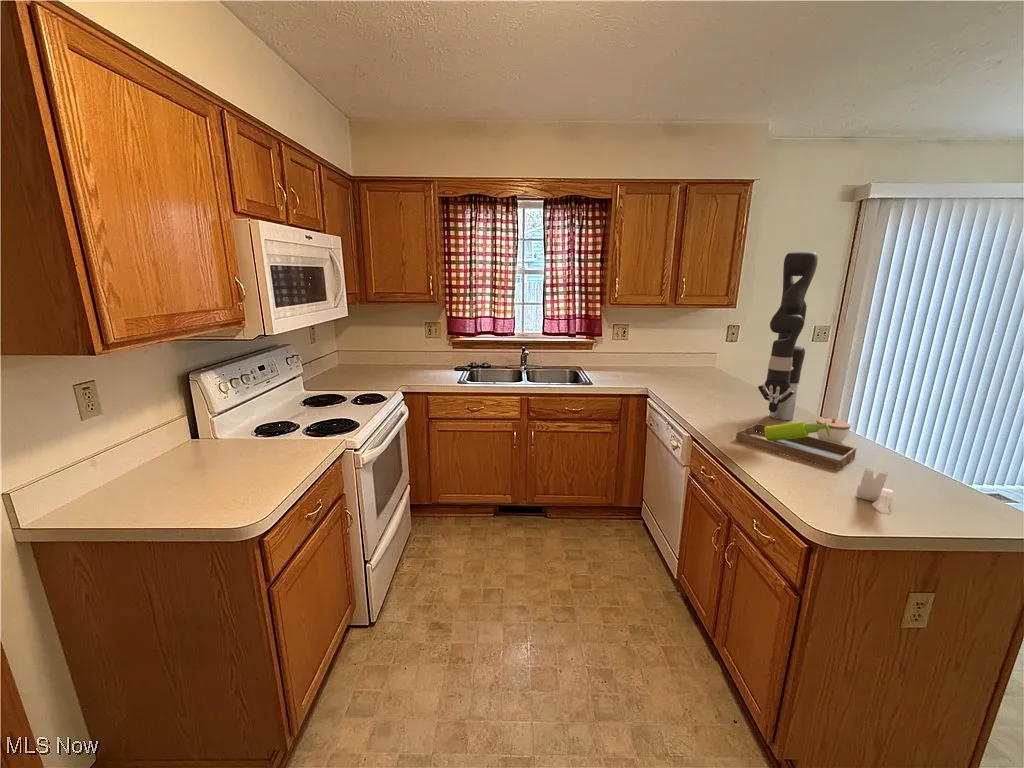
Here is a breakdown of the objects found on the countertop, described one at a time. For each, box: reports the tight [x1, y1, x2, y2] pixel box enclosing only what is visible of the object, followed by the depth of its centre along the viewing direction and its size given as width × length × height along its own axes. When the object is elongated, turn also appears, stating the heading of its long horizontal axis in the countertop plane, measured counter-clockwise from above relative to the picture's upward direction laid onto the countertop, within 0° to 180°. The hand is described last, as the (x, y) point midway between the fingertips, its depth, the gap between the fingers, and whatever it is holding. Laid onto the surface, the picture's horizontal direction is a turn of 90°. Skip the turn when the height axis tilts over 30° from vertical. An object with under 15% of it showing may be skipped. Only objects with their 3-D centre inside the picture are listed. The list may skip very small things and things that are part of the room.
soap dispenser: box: [764, 420, 830, 442], centre depth 166 cm, size 6×7×20 cm
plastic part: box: [855, 467, 894, 515], centre depth 124 cm, size 8×10×12 cm
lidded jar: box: [816, 417, 851, 444], centre depth 172 cm, size 11×11×9 cm
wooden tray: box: [735, 423, 857, 471], centre depth 165 cm, size 18×34×4 cm, turn 39°
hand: (772, 411), depth 169 cm, fingers closed
